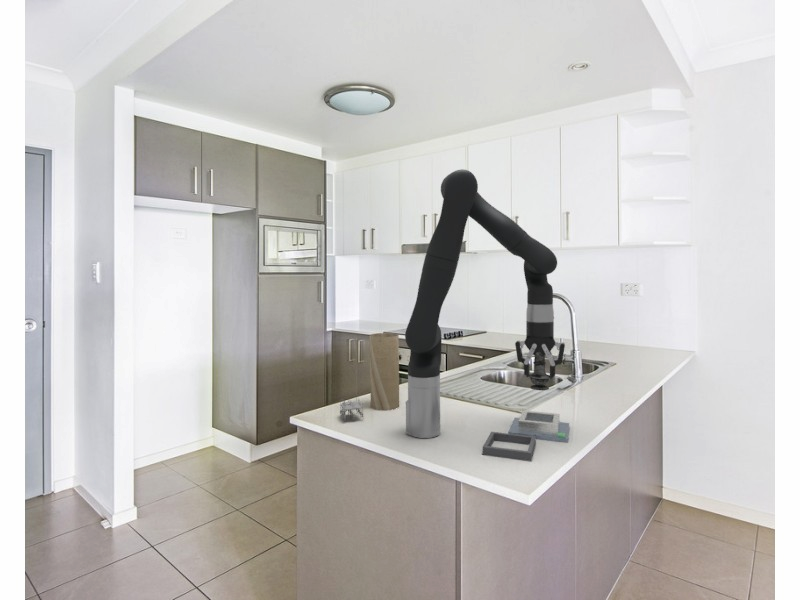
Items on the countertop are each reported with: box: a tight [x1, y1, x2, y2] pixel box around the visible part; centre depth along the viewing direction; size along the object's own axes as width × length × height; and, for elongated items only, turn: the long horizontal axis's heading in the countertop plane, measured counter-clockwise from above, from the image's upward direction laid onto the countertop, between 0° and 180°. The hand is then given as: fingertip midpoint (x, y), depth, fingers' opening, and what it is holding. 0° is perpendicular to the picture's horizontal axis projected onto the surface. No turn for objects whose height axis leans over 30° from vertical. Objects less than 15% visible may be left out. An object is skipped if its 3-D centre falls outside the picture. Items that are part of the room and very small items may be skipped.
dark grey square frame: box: [482, 431, 537, 462], centre depth 123 cm, size 12×12×2 cm
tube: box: [369, 332, 400, 411], centre depth 162 cm, size 10×10×25 cm
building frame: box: [339, 396, 365, 422], centre depth 150 cm, size 6×8×6 cm
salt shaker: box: [528, 352, 550, 391], centre depth 135 cm, size 6×6×12 cm
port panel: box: [507, 410, 570, 443], centre depth 136 cm, size 16×14×4 cm
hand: (539, 377), depth 135 cm, fingers closed on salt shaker, 6 cm apart
